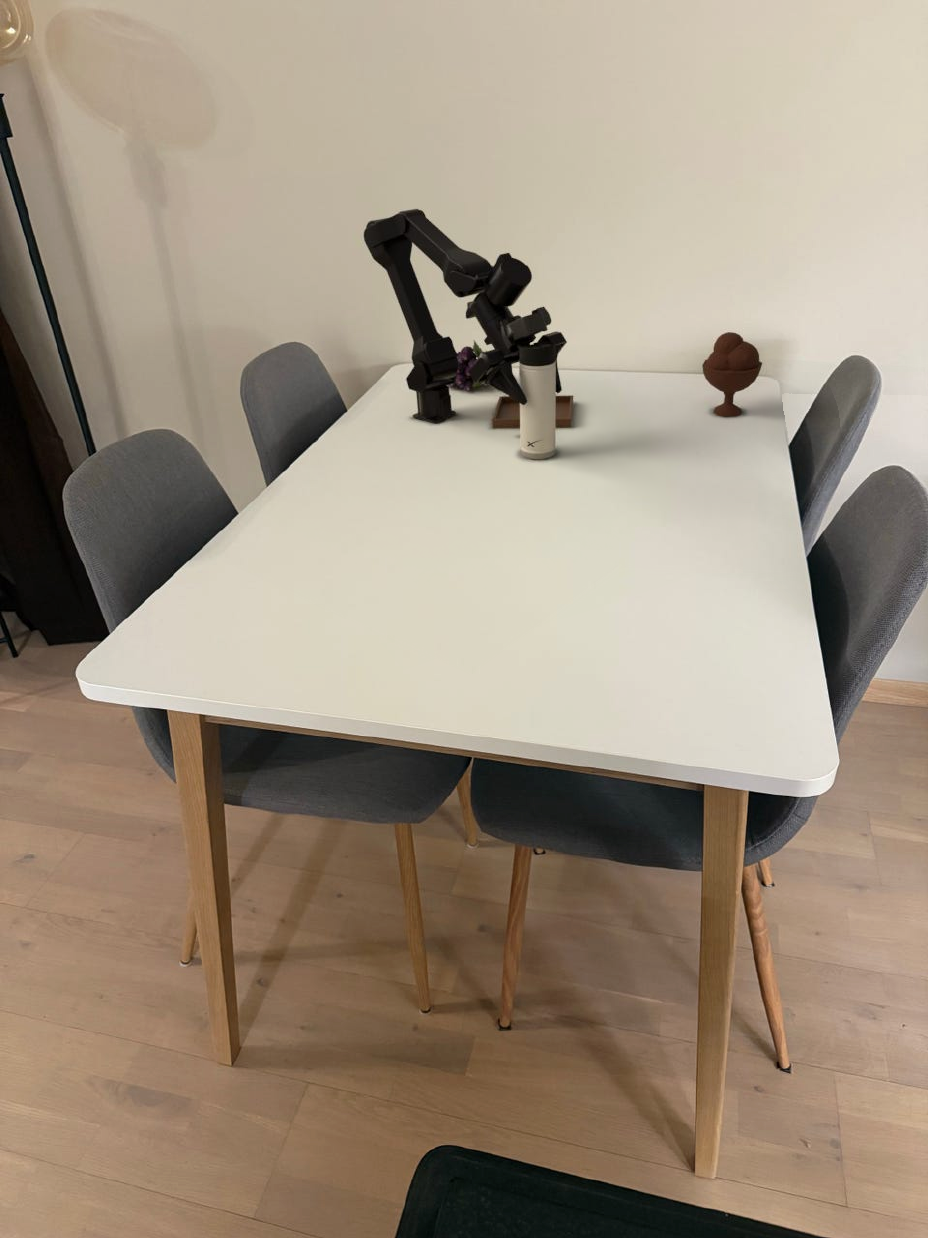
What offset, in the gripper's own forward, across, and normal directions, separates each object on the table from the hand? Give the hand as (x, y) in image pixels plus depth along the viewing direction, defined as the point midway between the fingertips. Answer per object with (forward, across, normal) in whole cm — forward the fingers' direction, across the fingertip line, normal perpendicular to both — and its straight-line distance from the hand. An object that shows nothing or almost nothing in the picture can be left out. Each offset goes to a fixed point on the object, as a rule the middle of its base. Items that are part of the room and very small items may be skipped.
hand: (543, 397), depth 156 cm
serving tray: (-4, +14, +20) cm, 24 cm away
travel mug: (+7, 0, +9) cm, 11 cm away
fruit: (-21, +17, +36) cm, 45 cm away
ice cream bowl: (+15, +40, 0) cm, 42 cm away
